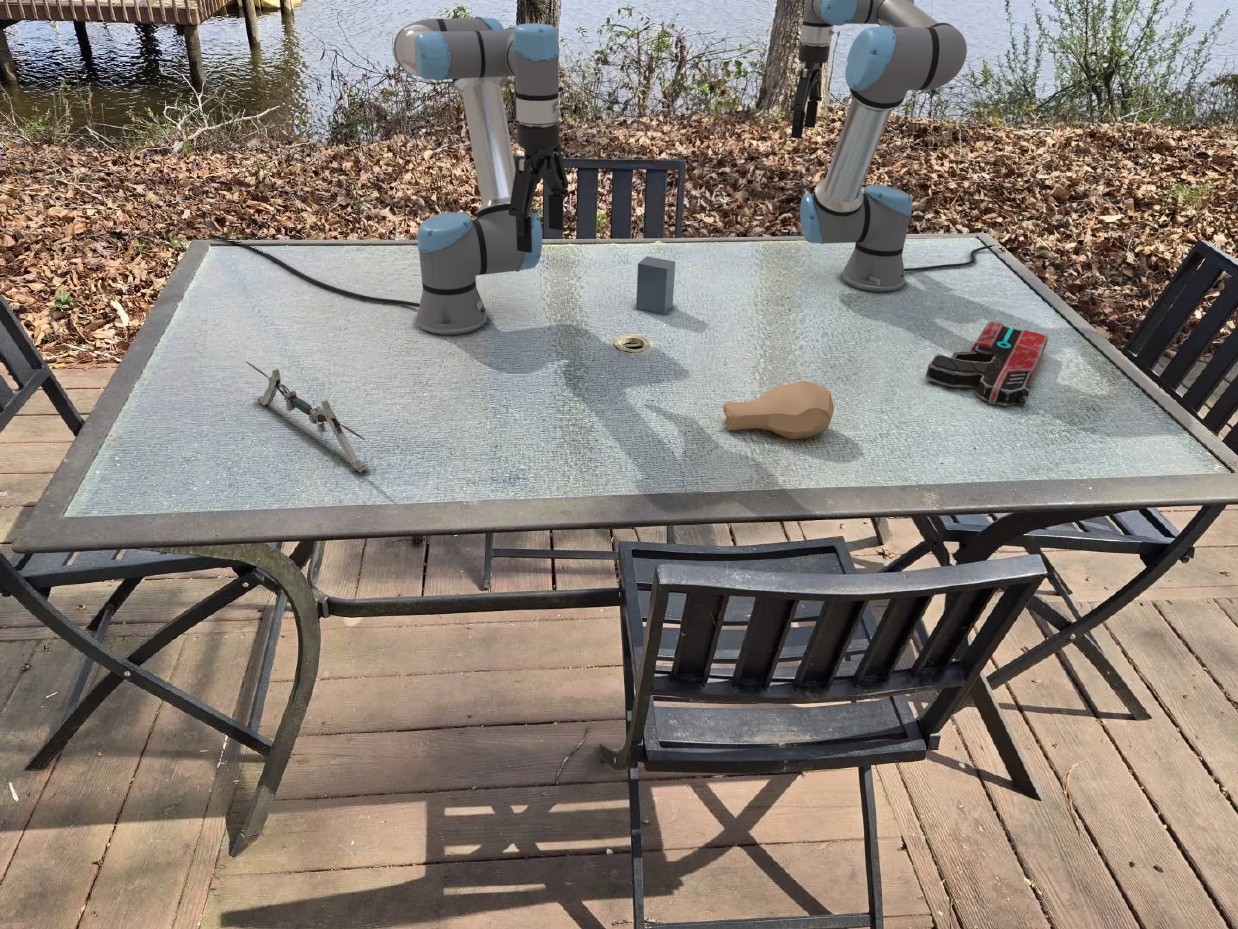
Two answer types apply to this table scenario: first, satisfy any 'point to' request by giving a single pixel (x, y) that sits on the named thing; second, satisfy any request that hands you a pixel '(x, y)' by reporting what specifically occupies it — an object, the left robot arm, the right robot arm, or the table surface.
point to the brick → (655, 285)
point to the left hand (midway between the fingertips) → (540, 239)
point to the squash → (784, 411)
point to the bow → (311, 415)
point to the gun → (993, 364)
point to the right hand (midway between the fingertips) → (802, 132)
